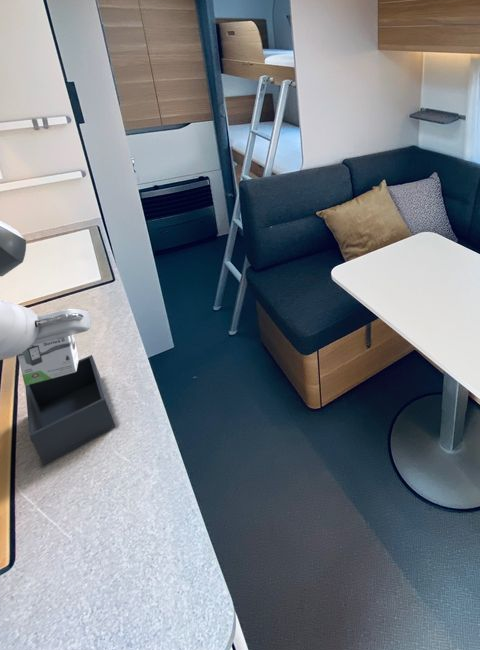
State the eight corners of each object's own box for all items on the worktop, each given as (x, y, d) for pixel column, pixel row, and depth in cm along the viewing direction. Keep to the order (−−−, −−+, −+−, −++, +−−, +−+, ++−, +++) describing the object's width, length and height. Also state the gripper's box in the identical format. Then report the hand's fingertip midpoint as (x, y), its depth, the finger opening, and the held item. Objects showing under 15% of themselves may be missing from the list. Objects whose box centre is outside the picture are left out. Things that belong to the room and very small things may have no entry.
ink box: (24, 387, 81) (10, 335, 78) (29, 372, 85) (16, 322, 82) (76, 372, 85) (65, 322, 82) (79, 359, 89) (69, 311, 86)
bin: (38, 410, 90) (24, 383, 87) (101, 380, 97) (91, 354, 94) (44, 465, 79) (29, 436, 76) (115, 426, 86) (105, 399, 83)
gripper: (75, 295, 73) (100, 308, 85) (-75, 330, 65) (-25, 338, 78) (77, 331, 71) (103, 339, 83) (-78, 370, 63) (-25, 373, 76)
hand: (40, 339), depth 80 cm, fingers closed on ink box, 8 cm apart
